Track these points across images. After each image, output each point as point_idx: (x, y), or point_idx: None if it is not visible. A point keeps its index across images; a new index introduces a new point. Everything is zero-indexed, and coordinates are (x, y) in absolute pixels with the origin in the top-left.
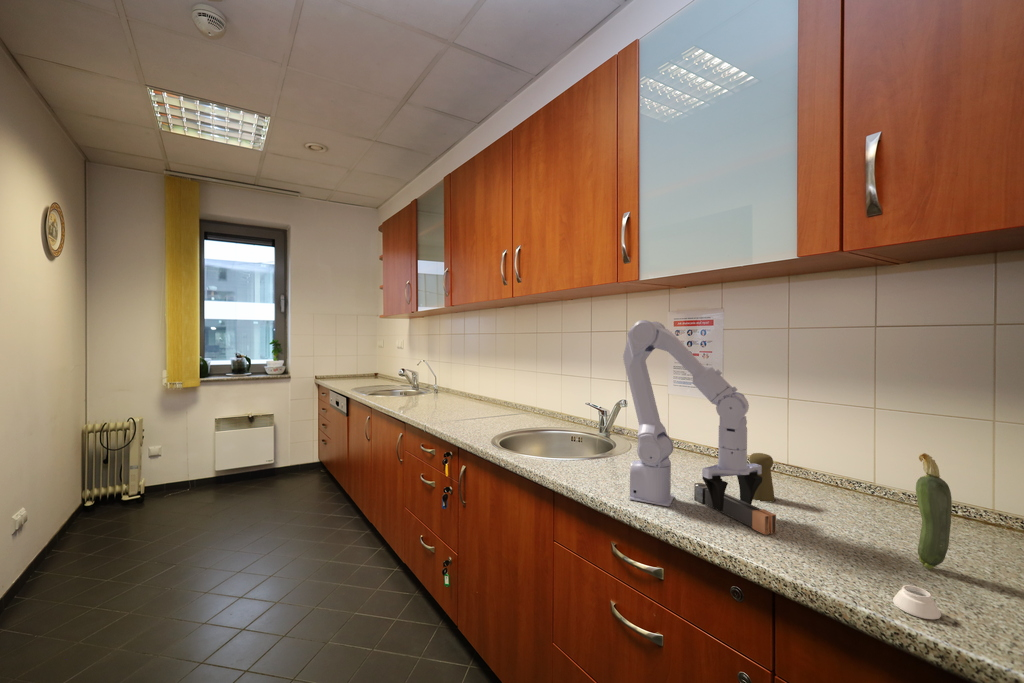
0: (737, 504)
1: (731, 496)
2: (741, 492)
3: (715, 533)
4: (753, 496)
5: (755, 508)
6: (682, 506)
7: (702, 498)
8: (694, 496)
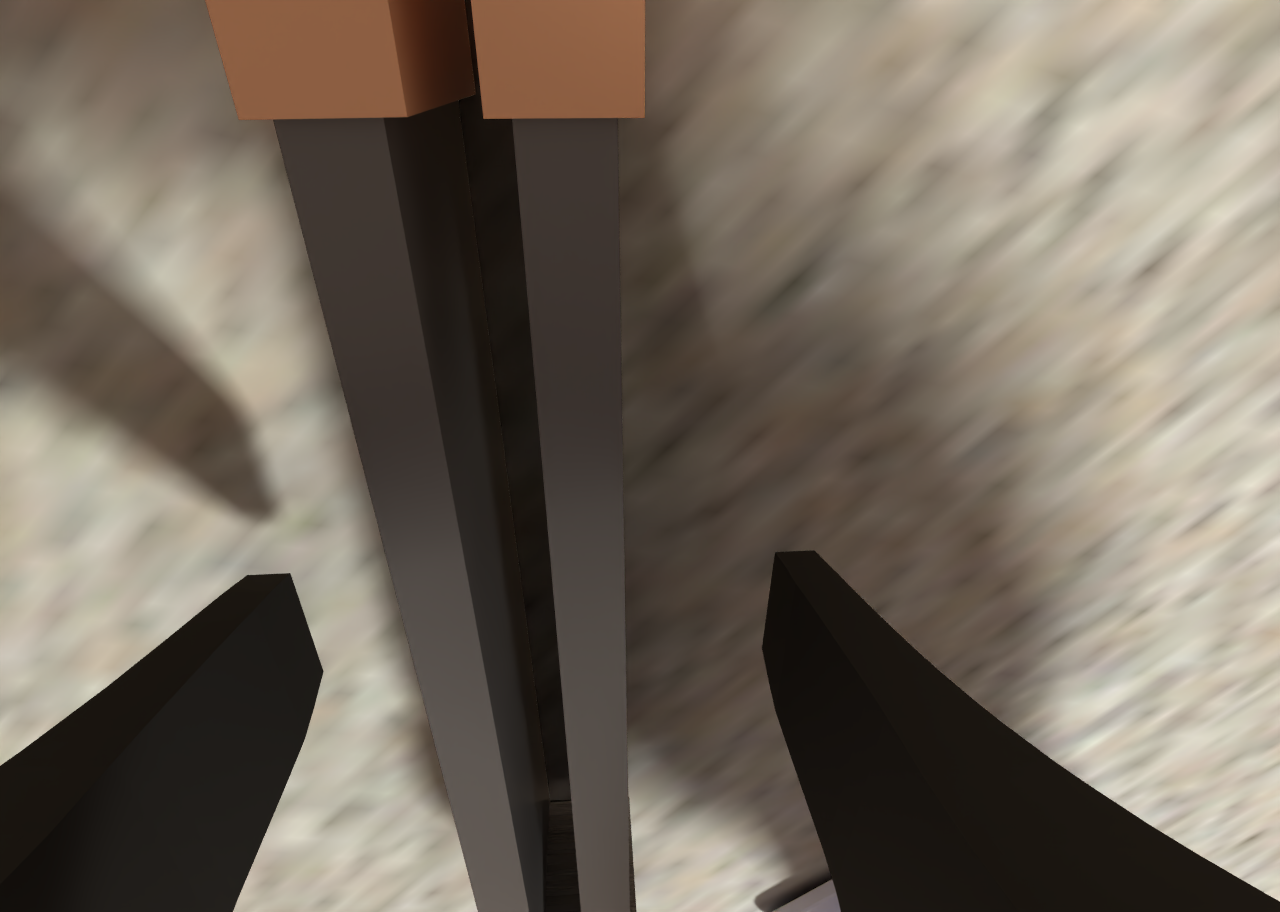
0: (621, 540)
1: (463, 790)
2: (237, 851)
3: (1258, 133)
4: (85, 708)
5: (415, 260)
6: None
7: (631, 856)
8: None
